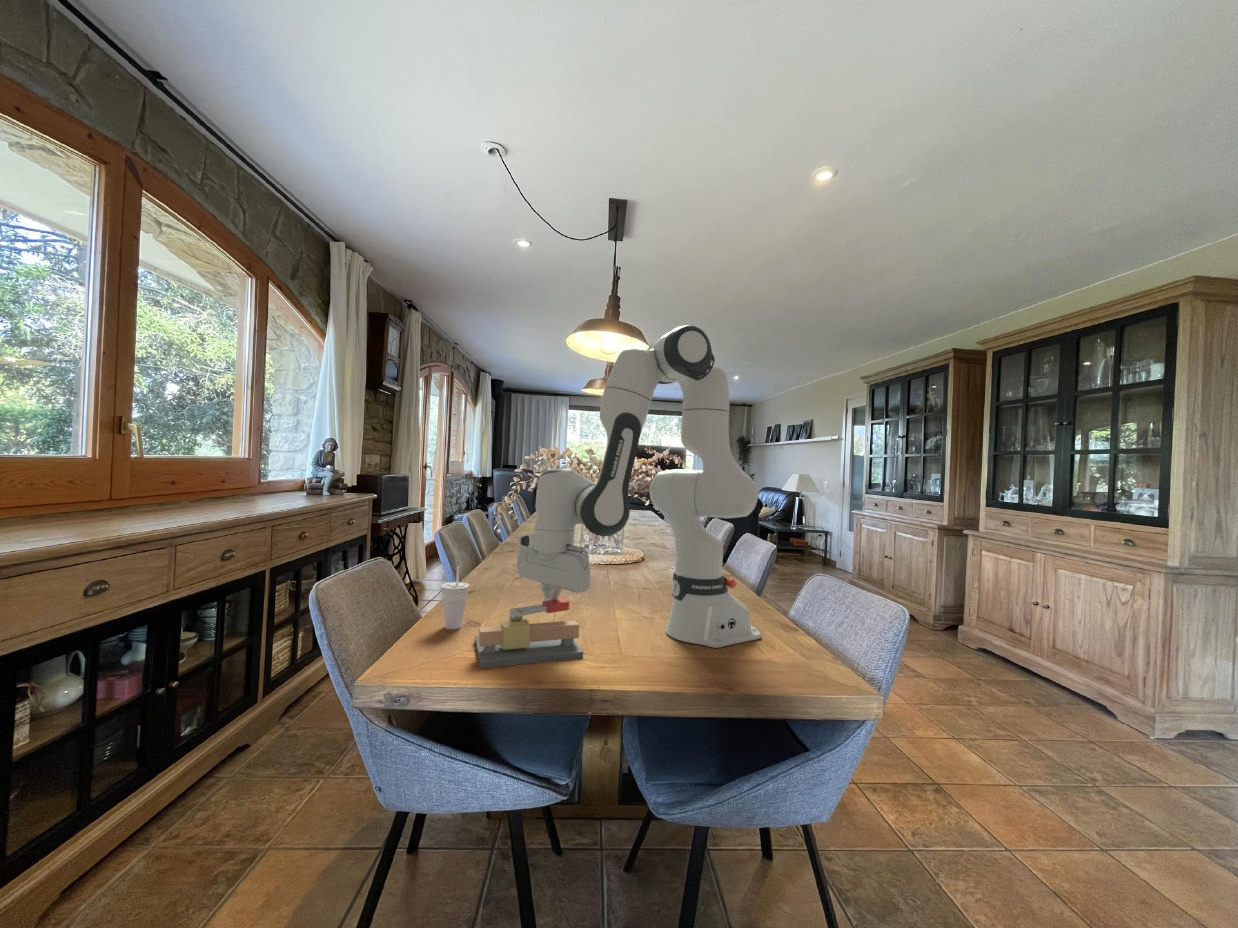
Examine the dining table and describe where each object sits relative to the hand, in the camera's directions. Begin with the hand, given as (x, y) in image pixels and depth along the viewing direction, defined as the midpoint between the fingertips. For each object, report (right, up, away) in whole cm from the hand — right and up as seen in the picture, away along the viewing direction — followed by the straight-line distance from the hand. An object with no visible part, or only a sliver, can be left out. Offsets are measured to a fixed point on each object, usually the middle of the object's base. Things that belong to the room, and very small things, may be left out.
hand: (550, 604), depth 108 cm
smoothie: (-24, -7, +7) cm, 26 cm away
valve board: (-4, -8, -5) cm, 10 cm away
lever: (-2, -1, -5) cm, 5 cm away
